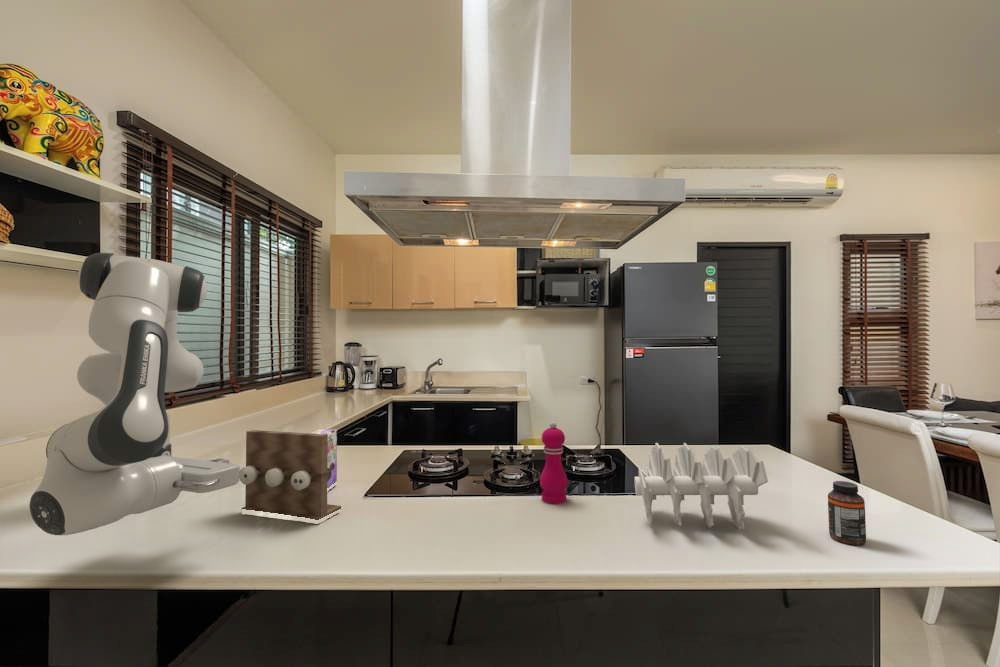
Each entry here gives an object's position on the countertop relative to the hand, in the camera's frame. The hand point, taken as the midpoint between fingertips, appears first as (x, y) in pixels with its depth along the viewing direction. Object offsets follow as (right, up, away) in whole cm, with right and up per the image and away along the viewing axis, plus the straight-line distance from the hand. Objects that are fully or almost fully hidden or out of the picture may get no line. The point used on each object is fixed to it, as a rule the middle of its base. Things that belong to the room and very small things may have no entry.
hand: (224, 462), depth 94 cm
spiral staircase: (+101, -15, +5) cm, 102 cm away
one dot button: (0, -8, +13) cm, 15 cm away
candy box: (+8, -17, +29) cm, 34 cm away
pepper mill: (+72, -16, +22) cm, 77 cm away
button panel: (+8, -16, +13) cm, 22 cm away
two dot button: (+14, -8, +8) cm, 18 cm away
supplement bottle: (+128, -15, -4) cm, 129 cm away
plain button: (+7, -8, +11) cm, 15 cm away
